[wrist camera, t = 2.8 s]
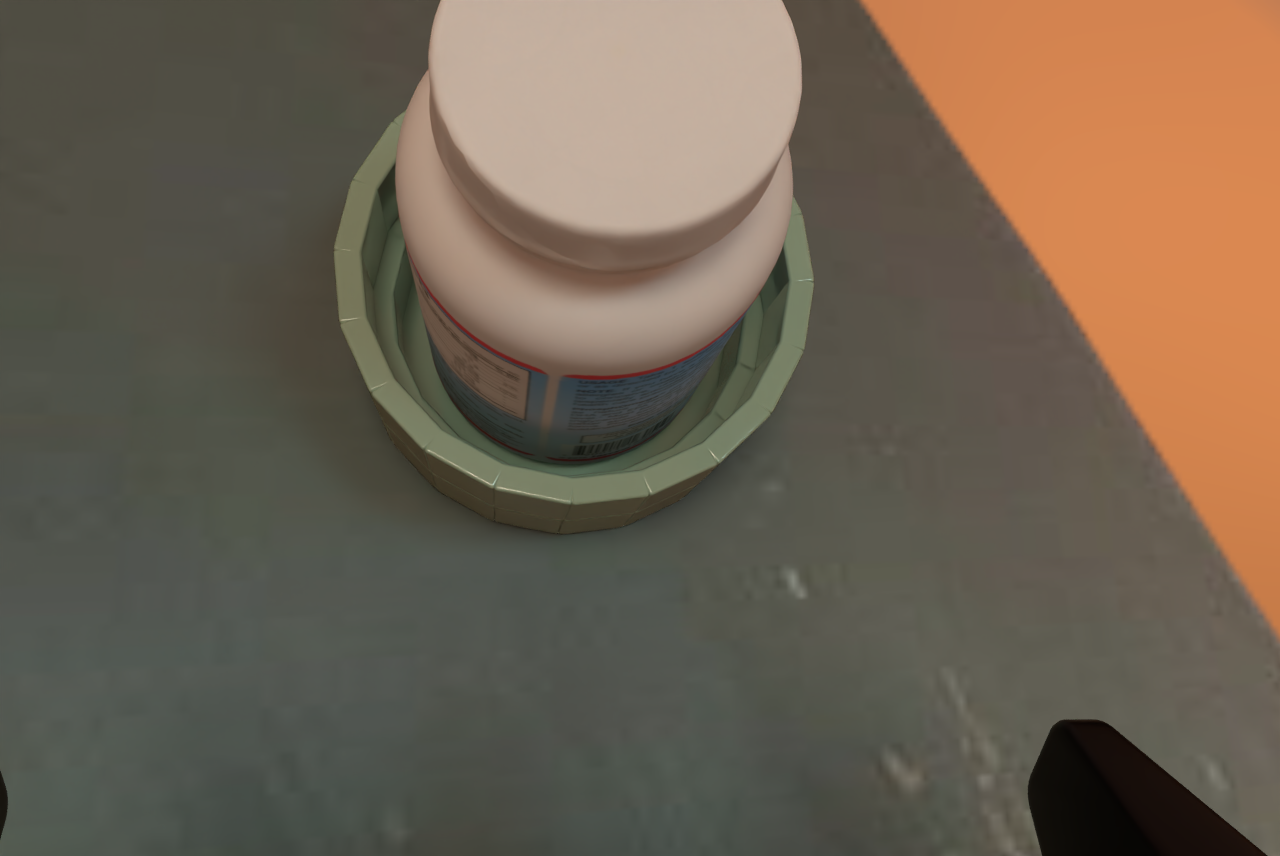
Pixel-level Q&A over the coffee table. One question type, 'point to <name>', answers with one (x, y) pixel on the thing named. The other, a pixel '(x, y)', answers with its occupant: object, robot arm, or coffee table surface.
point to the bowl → (505, 481)
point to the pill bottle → (593, 206)
